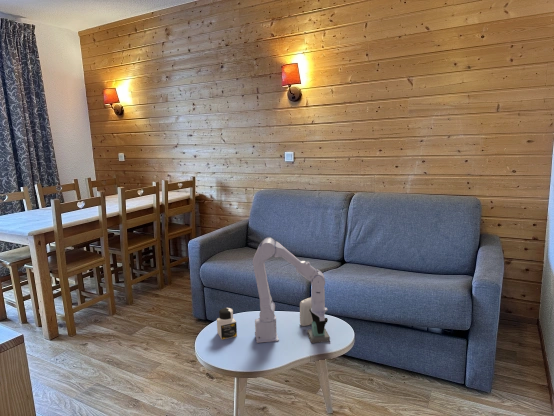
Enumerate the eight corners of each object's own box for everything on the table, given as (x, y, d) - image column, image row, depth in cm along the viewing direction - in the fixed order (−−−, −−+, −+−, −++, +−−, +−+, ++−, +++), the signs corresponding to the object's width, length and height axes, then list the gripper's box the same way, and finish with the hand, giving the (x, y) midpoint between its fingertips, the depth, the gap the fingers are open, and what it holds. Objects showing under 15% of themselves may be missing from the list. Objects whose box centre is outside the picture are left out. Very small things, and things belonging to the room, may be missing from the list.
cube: (314, 336, 163) (314, 326, 162) (311, 331, 167) (311, 321, 166) (324, 335, 163) (324, 325, 162) (321, 330, 168) (321, 320, 167)
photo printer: (316, 318, 183) (316, 294, 181) (321, 322, 180) (321, 297, 178) (298, 323, 179) (298, 299, 176) (303, 327, 175) (303, 302, 173)
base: (311, 343, 161) (311, 338, 161) (307, 333, 169) (307, 329, 169) (329, 341, 162) (329, 336, 162) (324, 332, 170) (324, 328, 170)
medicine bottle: (221, 340, 166) (220, 314, 164) (217, 333, 172) (215, 308, 170) (237, 336, 168) (236, 311, 166) (232, 329, 175) (231, 305, 173)
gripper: (331, 305, 156) (331, 336, 158) (322, 292, 170) (323, 320, 172) (315, 307, 155) (315, 338, 157) (307, 293, 169) (307, 322, 171)
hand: (318, 329), depth 165 cm, fingers open, 7 cm apart
